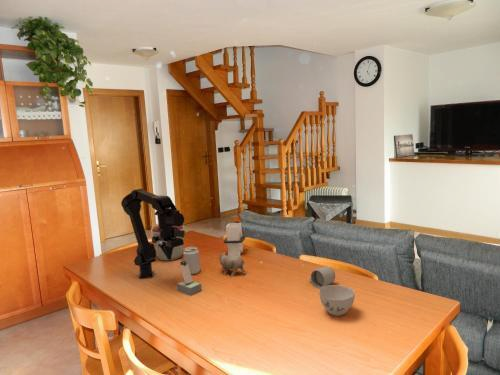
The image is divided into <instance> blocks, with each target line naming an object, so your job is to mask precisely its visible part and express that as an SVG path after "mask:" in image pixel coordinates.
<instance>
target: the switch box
mask: <svg viewBox="0 0 500 375" xmlns="http://www.w3.org/2000/svg"><path fill="white" fill-rule="evenodd" d="M176 291H177V292H180V293H183V294H185V295H188V296H193V295H195V294H197V293H200V292H202V291H203V290H202V283H200V282H196V281H194V280H193V281H192V282H190V283H187V284H186V283H185V280H183V281H181V282H178V283H176Z"/></svg>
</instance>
